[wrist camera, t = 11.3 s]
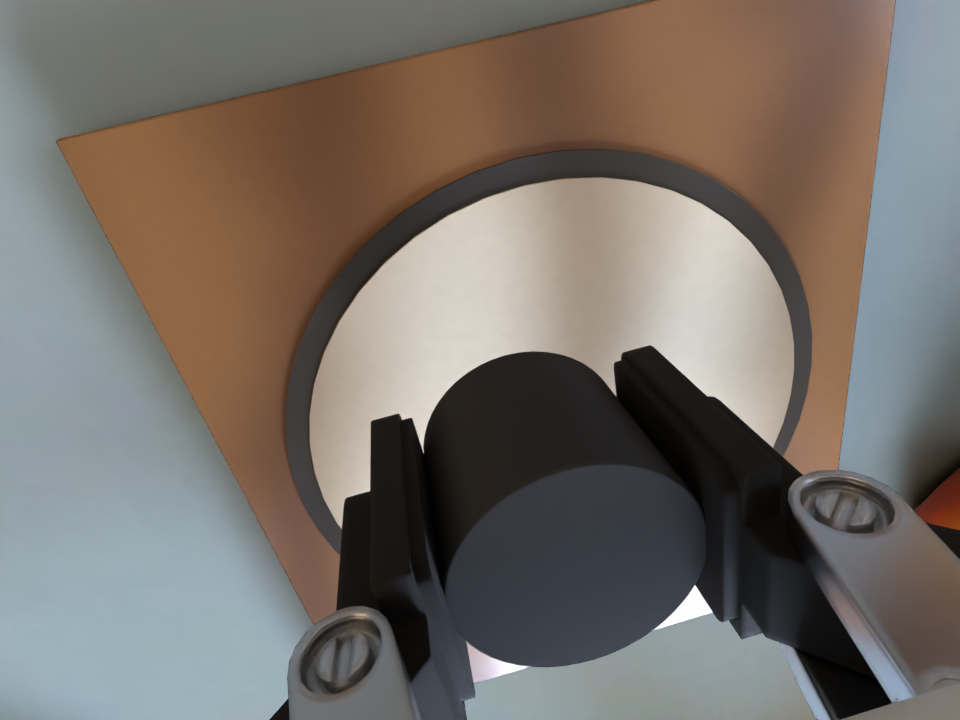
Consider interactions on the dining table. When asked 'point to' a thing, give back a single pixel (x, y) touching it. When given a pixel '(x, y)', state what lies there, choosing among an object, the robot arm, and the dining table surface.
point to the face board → (507, 236)
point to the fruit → (943, 504)
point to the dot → (555, 514)
